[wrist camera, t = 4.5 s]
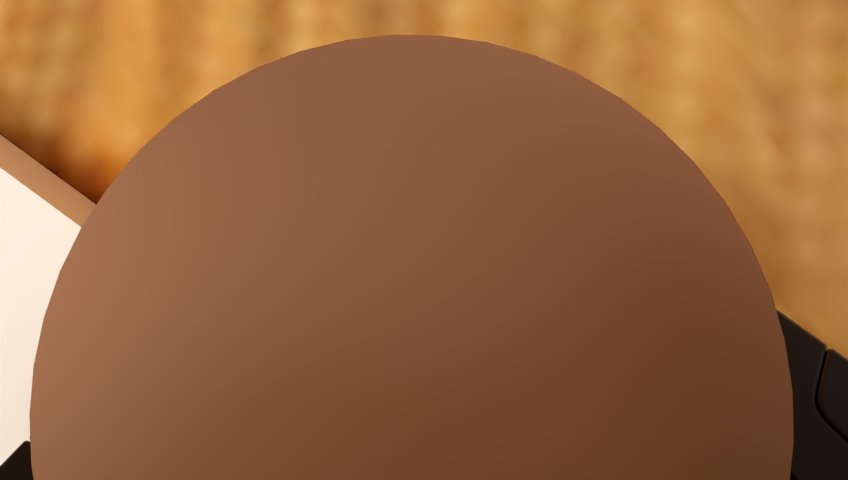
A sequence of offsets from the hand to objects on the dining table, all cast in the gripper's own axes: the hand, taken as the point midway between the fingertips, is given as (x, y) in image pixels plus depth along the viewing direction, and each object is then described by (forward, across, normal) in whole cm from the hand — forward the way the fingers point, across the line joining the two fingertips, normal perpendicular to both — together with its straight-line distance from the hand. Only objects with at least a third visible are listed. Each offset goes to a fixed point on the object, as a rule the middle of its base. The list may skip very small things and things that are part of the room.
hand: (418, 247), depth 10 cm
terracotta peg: (+4, 0, +6) cm, 7 cm away
